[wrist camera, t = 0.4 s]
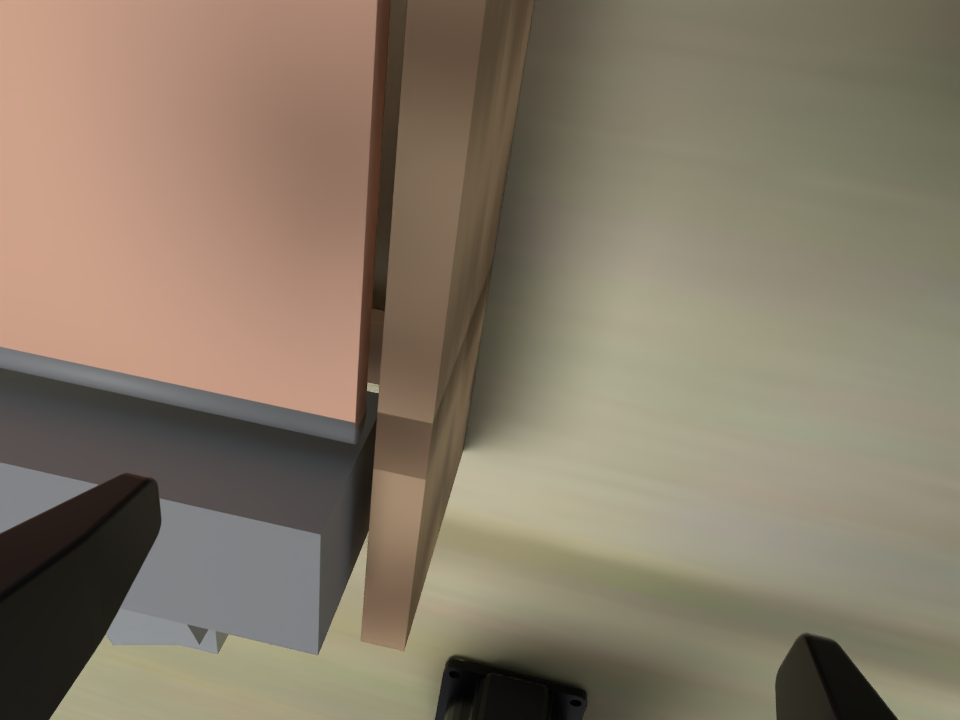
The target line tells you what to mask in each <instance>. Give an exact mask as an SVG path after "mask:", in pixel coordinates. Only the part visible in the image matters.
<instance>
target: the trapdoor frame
mask: <svg viewBox="0 0 960 720" xmlns="http://www.w3.org/2000/svg"><path fill="white" fill-rule="evenodd" d="M533 5H534V0H408V1H407V15H406V28H405V42H404V56H403V70H402V83H401V97H400V111H399V124H398V138H397V152H396V166H395V179H394V193H393V207H392V220H391V234H390V248H389V262H388V275H387V289H386V303H385V311H382V310H377V309H373V308H372V313H371V329H370V345H369V361H368V378H367V382H369V383H374V384H378V385H379V399H378V412H377V426H376V440H375V454H374V467H373V481H372V495H371V508H370V522H369V536H368V550H367V563H366V577H365V591H364V604H363V618H362V632H361V641H363V642H367V643H371V644H376V645H380V646H384V647H388V648H393V649H397V650H401V651H404V650H405V647H406V643H407V640H408V636H409V633H410V630H411V626H412V623H413V619H414V616H415V613H416V609H417V606H418V602H419V599H420V596H421V592H422V589H423V585H424V582H425V579H426V575H427V572H428V568H429V565H430V561H431V558H432V555H433V551H434V548H435V544H436V541H437V538H438V534H439V531H440V527H441V524H442V521H443V517H444V514H445V510H446V507H447V504H448V500H449V497H450V493H451V490H452V487H453V483H454V480H455V476H456V473H457V470H458V466H459V463H460V459H461V456H462V453H463V447H464V440H465V434H466V428H467V422H468V415H469V409H470V403H471V396H472V390H473V384H474V377H475V371H476V365H477V358H478V352H479V346H480V340H481V333H482V327H483V321H484V314H485V308H486V302H487V295H488V289H489V283H490V277H491V270H492V264H493V258H494V251H495V245H496V239H497V232H498V226H499V220H500V213H501V207H502V201H503V195H504V188H505V182H506V176H507V169H508V163H509V157H510V150H511V144H512V138H513V131H514V125H515V119H516V113H517V106H518V100H519V94H520V87H521V81H522V75H523V68H524V62H525V56H526V50H527V43H528V37H529V31H530V24H531V18H532V12H533Z"/></svg>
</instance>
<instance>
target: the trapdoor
mask: <svg viewBox="0 0 960 720" xmlns="http://www.w3.org/2000/svg"><path fill="white" fill-rule="evenodd" d="M390 4H391V0H0V533H2V532H4V531H6V530H8V529H10V528H12V527H14V526H16V525H18V524H20V523H22V522H24V521H26V520H28V519H30V518H32V517H34V516H37V515H39V514H41V513H43V512H45V511H47V510H49V509H51V508H53V507H55V506H57V505H59V504H61V503H63V502H65V501H67V500H69V499H71V498H73V497H75V496H77V495H79V494H81V493H83V492H85V491H87V490H89V489H91V488H93V487H96V486H98V485H100V484H102V483H104V482H106V481H108V480H110V479H112V478H114V477H116V476H118V475H120V474H122V473H126V472H132V473H137V474H141V475H145V476H149V477H152V478H154V479H155V480H156V482H157V484H158V489H159V499H160V508H161V518H162V522H161V528H160V531H159V534H158V536H157V539H156V540H155V542H154V544H153V546H152V548H151V550H150V552H149V554H148V556H147V558H146V560H145V561H144V563H143V565H142V567H141V569H140V571H139V573H138V575H137V577H136V579H135V580H134V582H133V584H132V586H131V588H130V590H129V592H128V594H127V596H126V598H125V600H124V601H123V603H122V605H121V607H120V609H124V610H129V611H133V612H137V613H141V614H146V615H150V616H154V617H158V618H162V619H167V620H171V621H175V622H179V623H184V624H188V625H192V626H196V627H200V628H205V629H209V630H213V631H217V632H222V633H226V634H230V635H234V636H238V637H243V638H247V639H251V640H255V641H260V642H264V643H268V644H272V645H276V646H281V647H285V648H289V649H293V650H298V651H302V652H306V653H310V654H315V655H318V654H319V652H320V649H321V647H322V644H323V642H324V639H325V637H326V634H327V632H328V629H329V627H330V625H331V622H332V620H333V617H334V615H335V612H336V610H337V607H338V605H339V602H340V600H341V597H342V595H343V593H344V590H345V588H346V585H347V583H348V580H349V578H350V575H351V573H352V570H353V568H354V565H355V563H356V561H357V558H358V556H359V553H360V551H361V548H362V546H363V543H364V541H365V538H366V536H367V533H368V531H369V522H370V508H371V495H372V481H373V467H374V454H375V440H376V426H377V412H378V399H379V394H378V393H374V392H369V391H367V378H368V361H369V345H370V329H371V313H372V296H373V280H374V264H375V248H376V231H377V215H378V199H379V183H380V166H381V150H382V134H383V118H384V101H385V85H386V69H387V53H388V36H389V20H390Z"/></svg>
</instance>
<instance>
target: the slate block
mask: <svg viewBox="0 0 960 720" xmlns="http://www.w3.org/2000/svg"><path fill="white" fill-rule="evenodd" d="M106 636H107V637H108V638H109V640H110V641H111V643H112V644H113V645H181V646H185V647H189V648H194V649H198V650H202V651H206V652H210V653H215V654H218V653H219V651H220V649H221V647H222V645H223V644H224V642H225V640H226V638H227V636H228V634H226V633H222V632H217V631H213V630H209V629H205V628H200V627H196V626H192V625H188V624H184V623H179V622H175V621H171V620H167V619H162V618H158V617H154V616H150V615H146V614H141V613H137V612H133V611H129V610H124V609H119V611H118V613H117V615H116V617H115V619H114V620H113V622H112V624H111V626H110V627H109V629H108V631H107V633H106Z"/></svg>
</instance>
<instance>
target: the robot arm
mask: <svg viewBox="0 0 960 720" xmlns="http://www.w3.org/2000/svg"><path fill="white" fill-rule="evenodd" d="M161 522H162V518H161V508H160V499H159V489H158V484H157V482H156V480H155V479H154V478H152V477H149V476H145V475H141V474H137V473H132V472H126V473H122V474H120V475H118V476H116V477H114V478H112V479H110V480H108V481H106V482H104V483H102V484H100V485H98V486H96V487H93V488H91V489H89V490H87V491H85V492H83V493H81V494H79V495H77V496H75V497H73V498H71V499H69V500H67V501H65V502H63V503H61V504H59V505H57V506H55V507H53V508H51V509H49V510H47V511H45V512H43V513H41V514H39V515H37V516H34V517H32V518H30V519H28V520H26V521H24V522H22V523H20V524H18V525H16V526H14V527H12V528H10V529H8V530H6V531H4V532H2V533H0V720H49V719H50V717H51V716H52V714H53V713H54V711H55V710H56V708H57V707H58V705H59V704H60V702H61V701H62V700H63V698H64V697H65V695H66V694H67V692H68V691H69V689H70V688H71V686H72V685H73V683H74V682H75V680H76V679H77V677H78V676H79V674H80V673H81V671H82V670H83V668H84V667H85V665H86V664H87V662H88V661H89V659H90V658H91V656H92V655H93V653H94V652H95V650H96V649H97V647H98V645H99V644H100V642H101V641H102V639H103V638H104V636H105V634H106V633H107V631H108V629H109V627H110V626H111V624H112V622H113V620H114V619H115V617H116V615H117V613H118V611H119V609H120V607H121V605H122V603H123V601H124V600H125V598H126V596H127V594H128V592H129V590H130V588H131V586H132V584H133V582H134V580H135V579H136V577H137V575H138V573H139V571H140V569H141V567H142V565H143V563H144V561H145V560H146V558H147V556H148V554H149V552H150V550H151V548H152V546H153V544H154V542H155V540H156V539H157V536H158V534H159V531H160V528H161ZM775 691H776V716H777V720H898V719H897V717H896V716H895V715H894V714H893V712H892V711H891V710H890V709H889V707H888V706H887V705H886V704H885V702H884V701H883V700H882V698H881V697H880V696H879V695H878V693H877V692H876V691H875V690H874V688H873V687H872V686H871V685H870V683H869V682H868V681H867V679H866V678H865V677H864V676H863V674H862V673H861V672H860V671H859V669H858V668H857V667H856V666H855V664H854V663H853V662H852V660H851V659H850V658H849V657H848V655H847V654H846V653H845V652H844V650H843V649H842V648H841V647H840V645H839V644H838V643H837V642H835V641H834V640H832V639H830V638H826V637H822V636H818V635H813V634H809V633H803V634H801V635H800V636H799V637H798V638H797V639H796V641H795V643H794V644H793V646H792V648H791V649H790V651H789V653H788V654H787V656H786V658H785V659H784V661H783V663H782V664H781V666H780V668H779V670H778V673H777V677H776V684H775ZM586 707H587V693H586V692H585V691H583V690H581V689H579V688H574V687H570V686H566V685H562V684H557V683H553V682H549V681H545V680H540V679H536V678H532V677H527V676H523V675H519V674H515V673H510V672H506V671H502V670H498V669H493V668H489V667H485V666H481V665H476V664H472V663H468V662H463V661H459V660H449V661H447V662H446V664H445V668H444V672H443V678H442V684H441V689H440V695H439V700H438V706H437V712H436V717H435V720H582V718H583V715H584V712H585V710H586Z"/></svg>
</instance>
